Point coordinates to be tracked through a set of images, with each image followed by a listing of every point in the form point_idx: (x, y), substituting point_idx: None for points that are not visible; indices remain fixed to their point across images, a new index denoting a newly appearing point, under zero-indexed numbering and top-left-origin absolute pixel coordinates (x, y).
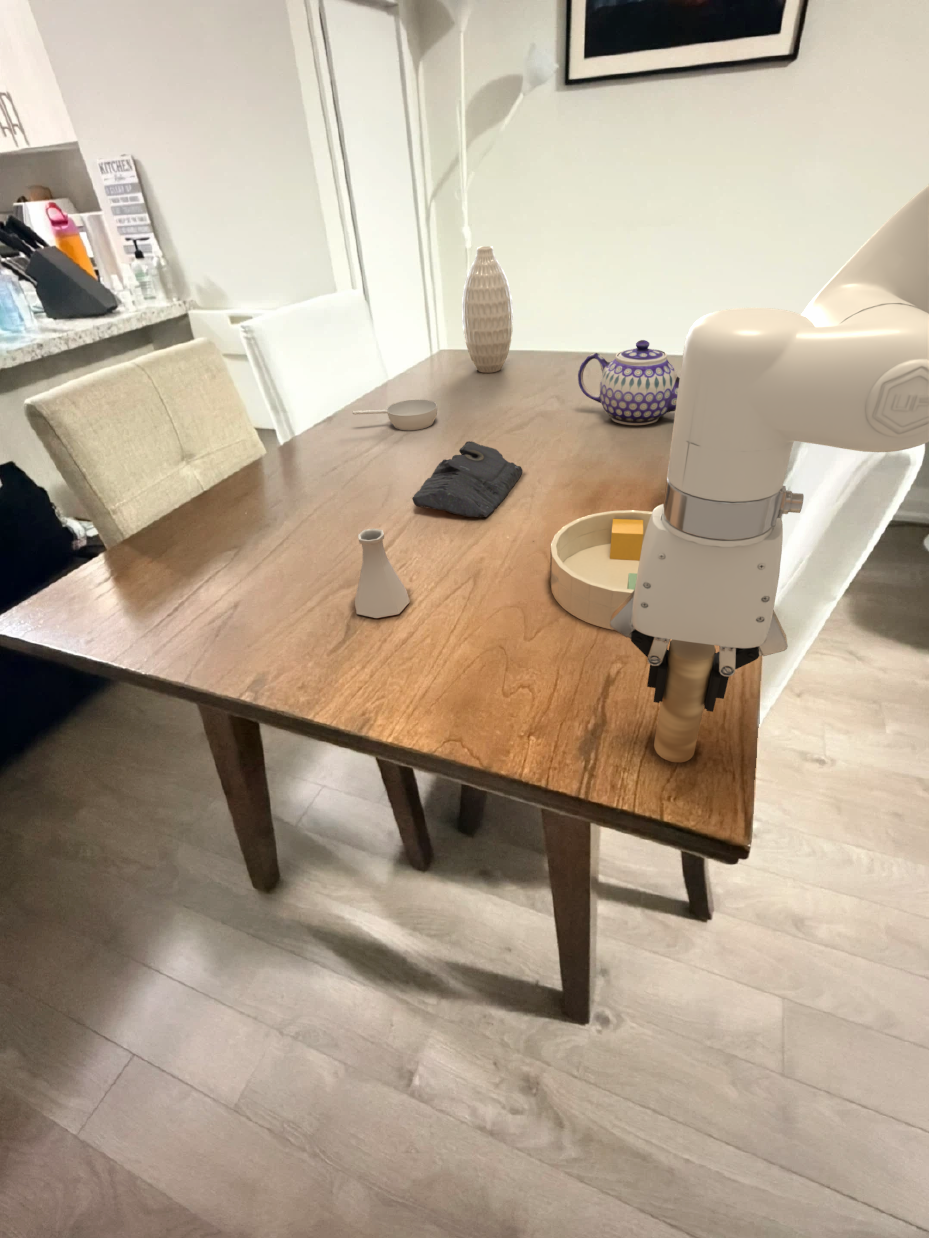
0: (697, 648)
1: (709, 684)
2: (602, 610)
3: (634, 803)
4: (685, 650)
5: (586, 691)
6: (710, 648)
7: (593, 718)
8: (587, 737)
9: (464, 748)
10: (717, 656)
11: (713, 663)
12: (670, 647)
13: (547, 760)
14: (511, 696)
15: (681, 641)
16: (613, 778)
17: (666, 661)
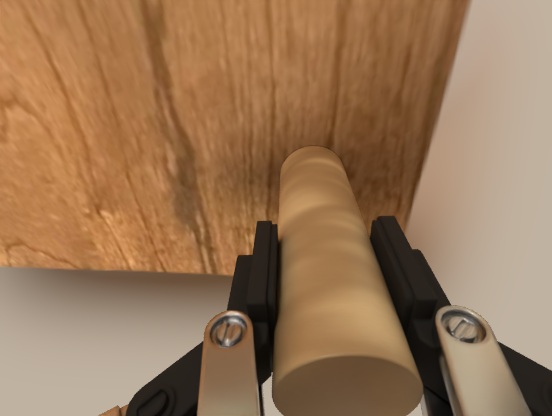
0: (362, 403)
1: None
2: None
3: None
4: (324, 413)
5: (124, 77)
6: (406, 398)
7: (169, 148)
8: (178, 191)
9: (38, 252)
10: (423, 356)
11: (405, 326)
12: (277, 407)
13: (147, 242)
14: (10, 137)
15: (309, 388)
16: (238, 246)
17: (273, 345)
